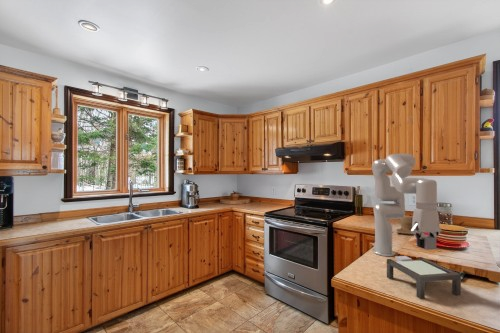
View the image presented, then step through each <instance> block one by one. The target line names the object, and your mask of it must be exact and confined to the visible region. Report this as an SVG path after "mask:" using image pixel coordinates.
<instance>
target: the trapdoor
mask: <svg viewBox="0 0 500 333" xmlns="http://www.w3.org/2000/svg"><path fill="white" fill-rule="evenodd" d="M394 256H395V255H394ZM394 261H395V262H397V263H399V264H401V265H403V266H405V267H406V268H408V269H410V270H412V271H414V272H416V273H418V274H420V275H427V274H441V273H447V272H444V271H442V270H440V269H438V268H436V267H434V266H432V265H430V264H428V263H425V262H423V261H421V260H418V259H416V260H413V259H412V258H411V257H409V256H407V255H398V256H397V255H396V256H395V257H394Z"/></svg>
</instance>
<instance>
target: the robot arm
mask: <svg viewBox="0 0 500 333" xmlns="http://www.w3.org/2000/svg"><path fill="white" fill-rule="evenodd" d="M415 165H416V158H415V156H414V155H412V154H411V153H391V154H389V155H387V156H386V157H385V158H380V159H376V160H374V161H373V162H372V164H371V170H372V175H373V177H374V183H375V184H374V190H375V198H376V200H377V201H380V203H376V204H375V205H373V215H374V242H372V244H371V245H372V246H373V247H374V248H372V250H371V251H372V252H373V253H374V254H376V255H378V256H383V257H394V256H395V255H396V253H395V251H394V250H393V225H392V223H391V222H390V219H392V220H396V219H397V220H400V219H402V218H403V217H404V216H406V205H405V202H406V200H405V194H407V195H408V194H411V195H412V194H415V208H414V210H413V212H412V214H413V215H412V217H413V220H412V229H411V232H412V233H413V234H412V235H414V236H415V238H416V247H418V248H421V249H423V248H424V239H423V236H424V235H425V234H427V233H428V235H429V236H432V237H435V238H436V240H437V238H438V236H439V234H440V233H441V232H442V228H441V227H440V216H439V212H438V207H439V206H438V198H437V197H438V189H437V188H438V183H437V181H436V180H434V179H428V178H424V177H423V178H422V177H418V178H417V177H409V176H410V175H411V174H412V171H413V168H414V167H415ZM389 173H392V174H391V177H389V176H388V174H389ZM391 184H392V186H391ZM381 202H385V203H381ZM387 202H393V203H387Z"/></svg>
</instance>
